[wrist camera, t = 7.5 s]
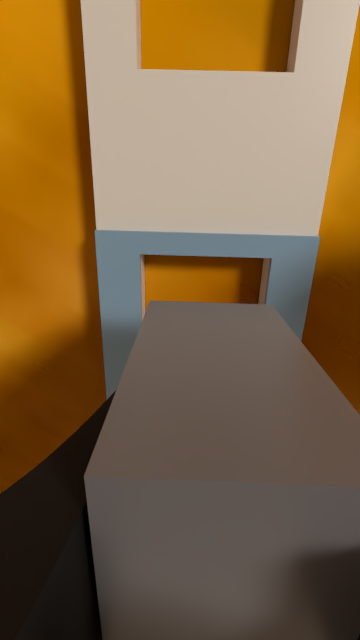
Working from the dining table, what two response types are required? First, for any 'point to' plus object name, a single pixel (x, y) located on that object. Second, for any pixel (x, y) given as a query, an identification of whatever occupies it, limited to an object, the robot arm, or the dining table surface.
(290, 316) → the two-tone slotted frame
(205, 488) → the plug
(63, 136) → the dining table surface
